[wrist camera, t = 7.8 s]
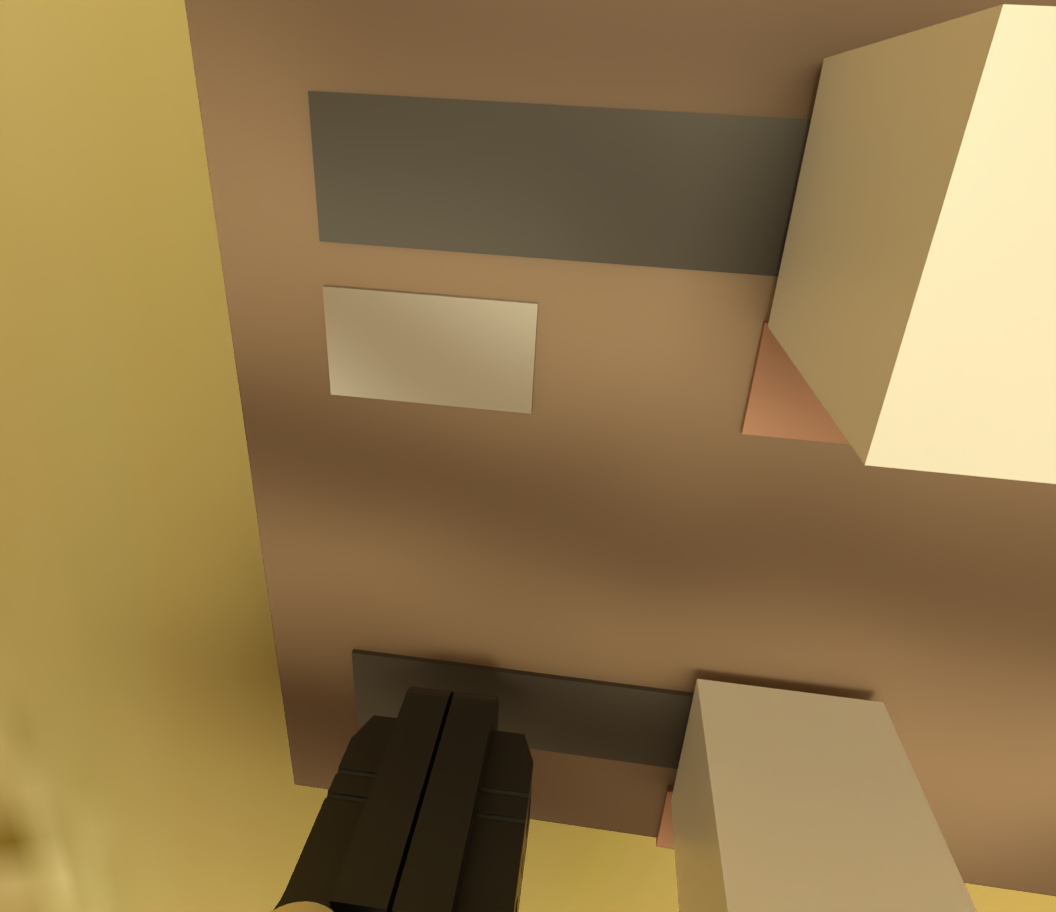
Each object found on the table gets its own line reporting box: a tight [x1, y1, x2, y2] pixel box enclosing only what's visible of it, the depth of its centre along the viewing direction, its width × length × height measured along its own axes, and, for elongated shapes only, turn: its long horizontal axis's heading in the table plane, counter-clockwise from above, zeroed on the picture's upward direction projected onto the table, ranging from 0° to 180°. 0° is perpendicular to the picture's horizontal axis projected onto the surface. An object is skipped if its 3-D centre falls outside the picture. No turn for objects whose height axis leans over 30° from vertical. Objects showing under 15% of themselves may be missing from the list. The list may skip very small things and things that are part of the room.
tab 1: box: [768, 4, 1056, 484], centre depth 6 cm, size 3×3×4 cm
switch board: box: [185, 0, 1056, 896], centre depth 11 cm, size 15×18×2 cm
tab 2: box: [671, 679, 977, 912], centre depth 10 cm, size 3×3×4 cm
